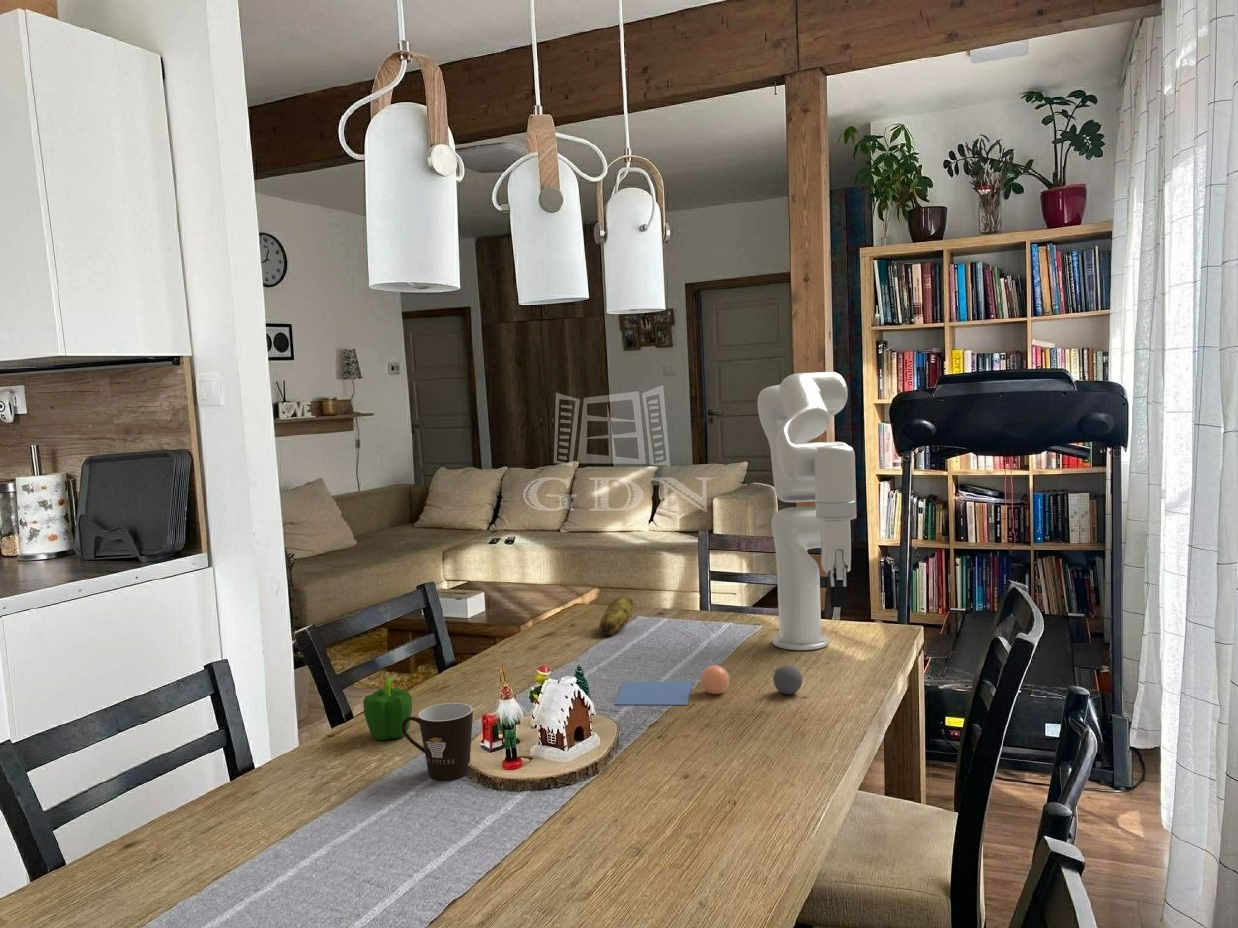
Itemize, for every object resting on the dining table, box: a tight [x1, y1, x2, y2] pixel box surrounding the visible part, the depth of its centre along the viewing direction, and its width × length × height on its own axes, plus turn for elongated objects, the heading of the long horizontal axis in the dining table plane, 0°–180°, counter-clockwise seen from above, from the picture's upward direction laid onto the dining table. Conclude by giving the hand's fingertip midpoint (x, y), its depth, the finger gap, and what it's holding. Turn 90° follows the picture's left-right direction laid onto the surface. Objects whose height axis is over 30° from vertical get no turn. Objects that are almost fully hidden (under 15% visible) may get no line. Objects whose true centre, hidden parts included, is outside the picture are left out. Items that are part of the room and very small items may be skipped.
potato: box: [598, 596, 635, 636], centre depth 235 cm, size 8×13×8 cm, turn 137°
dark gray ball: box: [772, 664, 803, 695], centre depth 181 cm, size 6×6×6 cm
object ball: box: [700, 665, 730, 695], centre depth 183 cm, size 6×6×6 cm
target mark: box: [614, 681, 693, 706], centre depth 185 cm, size 14×14×1 cm
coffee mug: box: [402, 702, 474, 782], centre depth 150 cm, size 12×9×10 cm
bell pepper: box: [362, 677, 413, 741], centre depth 167 cm, size 8×8×10 cm
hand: (838, 605), depth 178 cm, fingers closed
